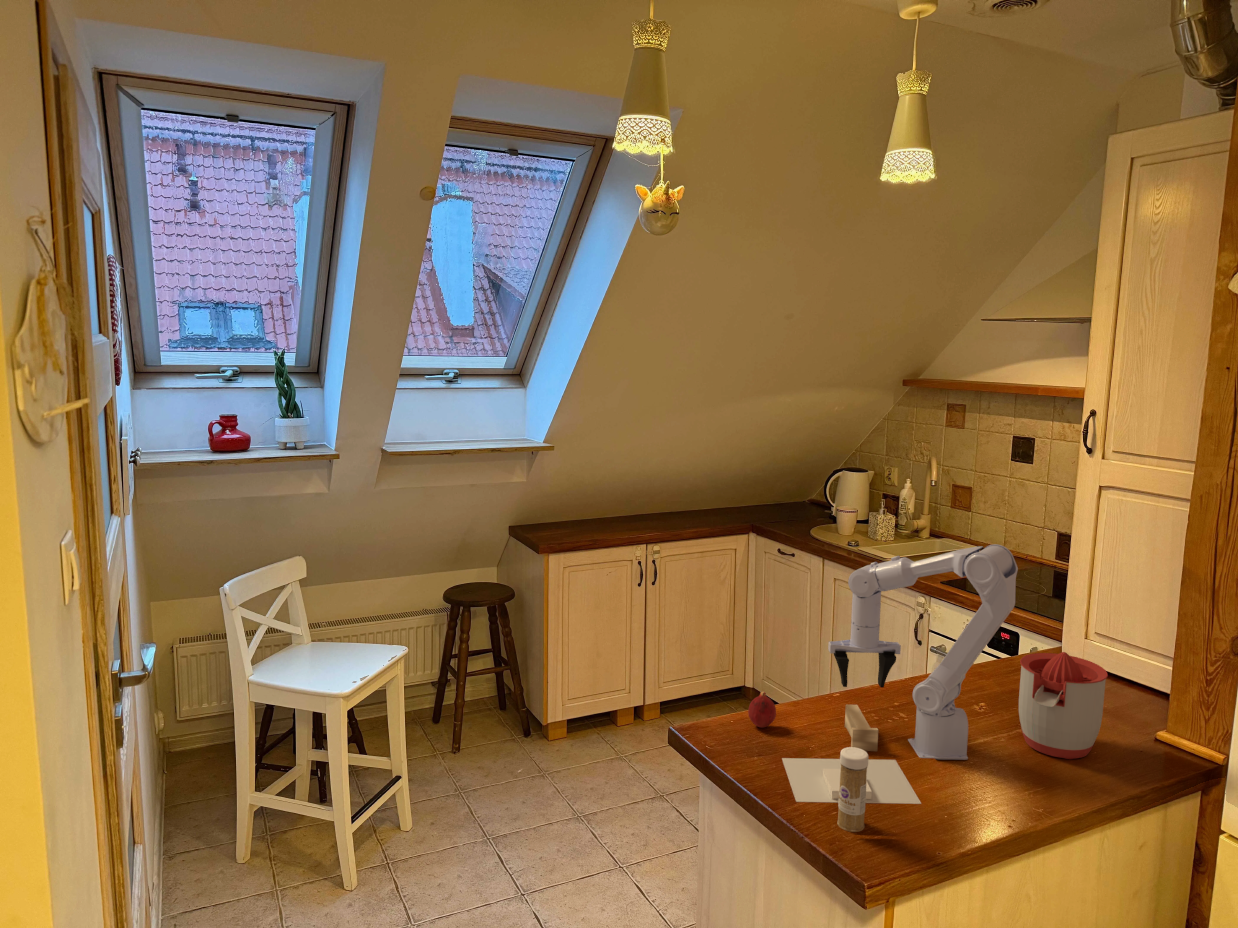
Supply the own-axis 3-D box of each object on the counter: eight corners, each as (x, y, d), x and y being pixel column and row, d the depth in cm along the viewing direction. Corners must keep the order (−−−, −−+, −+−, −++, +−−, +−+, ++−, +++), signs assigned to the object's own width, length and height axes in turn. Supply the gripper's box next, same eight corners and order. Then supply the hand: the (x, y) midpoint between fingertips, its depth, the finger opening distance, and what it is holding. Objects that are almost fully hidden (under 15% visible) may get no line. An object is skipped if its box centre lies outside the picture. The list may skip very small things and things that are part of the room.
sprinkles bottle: (832, 827, 147) (835, 752, 145) (844, 816, 151) (847, 743, 149) (857, 837, 145) (861, 761, 143) (869, 826, 148) (873, 751, 146)
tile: (860, 769, 163) (871, 791, 155) (860, 777, 163) (871, 799, 155) (822, 768, 163) (832, 790, 155) (822, 776, 164) (831, 798, 156)
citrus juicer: (998, 749, 176) (1005, 654, 173) (1030, 722, 188) (1037, 633, 185) (1082, 776, 165) (1091, 675, 162) (1111, 746, 177) (1119, 652, 174)
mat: (895, 762, 170) (895, 759, 170) (921, 806, 154) (921, 803, 154) (781, 760, 171) (781, 757, 171) (796, 803, 155) (796, 801, 155)
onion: (775, 735, 181) (776, 699, 180) (747, 732, 182) (748, 696, 181) (775, 723, 187) (777, 687, 186) (748, 721, 188) (749, 685, 187)
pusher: (862, 726, 185) (863, 704, 185) (877, 753, 174) (878, 729, 173) (838, 726, 186) (839, 704, 185) (851, 752, 174) (852, 729, 173)
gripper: (895, 617, 185) (891, 678, 187) (826, 616, 186) (823, 677, 188) (904, 628, 178) (901, 691, 180) (833, 627, 179) (830, 690, 181)
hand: (862, 685), depth 184 cm, fingers open, 7 cm apart
